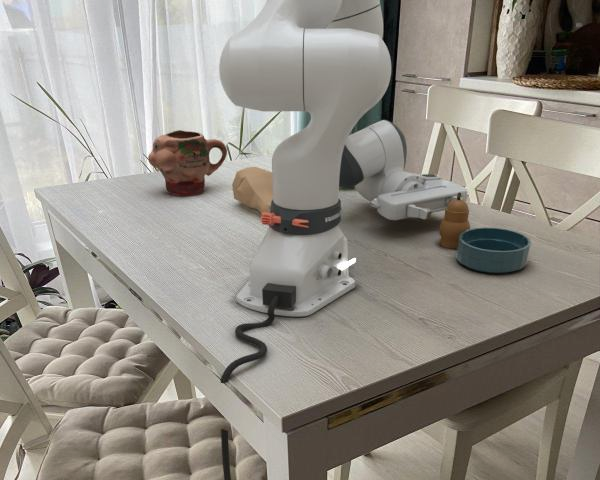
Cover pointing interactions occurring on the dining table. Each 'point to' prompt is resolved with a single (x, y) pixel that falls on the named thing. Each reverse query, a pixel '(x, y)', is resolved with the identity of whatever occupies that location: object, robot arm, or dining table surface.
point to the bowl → (493, 250)
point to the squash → (254, 188)
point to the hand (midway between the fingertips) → (446, 211)
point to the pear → (454, 222)
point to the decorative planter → (185, 160)
